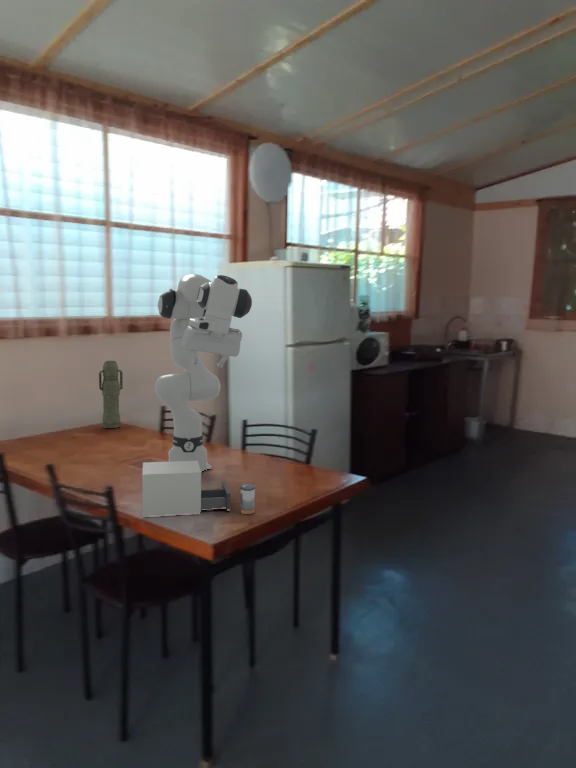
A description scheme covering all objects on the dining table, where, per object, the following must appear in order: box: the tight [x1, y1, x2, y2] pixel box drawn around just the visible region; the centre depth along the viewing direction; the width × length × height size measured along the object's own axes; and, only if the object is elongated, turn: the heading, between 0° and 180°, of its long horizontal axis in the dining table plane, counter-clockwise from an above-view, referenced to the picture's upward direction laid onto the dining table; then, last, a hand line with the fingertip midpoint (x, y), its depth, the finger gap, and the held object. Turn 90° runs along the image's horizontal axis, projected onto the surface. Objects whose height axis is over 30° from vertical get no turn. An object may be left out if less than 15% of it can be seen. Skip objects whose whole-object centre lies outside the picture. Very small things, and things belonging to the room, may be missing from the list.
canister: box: [240, 482, 256, 511], centre depth 194 cm, size 5×5×9 cm
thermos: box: [98, 360, 124, 429], centre depth 314 cm, size 9×12×35 cm
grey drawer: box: [201, 480, 231, 510], centre depth 198 cm, size 13×17×6 cm
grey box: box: [141, 461, 202, 517], centre depth 195 cm, size 14×18×14 cm
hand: (206, 365), depth 201 cm, fingers open, 8 cm apart
